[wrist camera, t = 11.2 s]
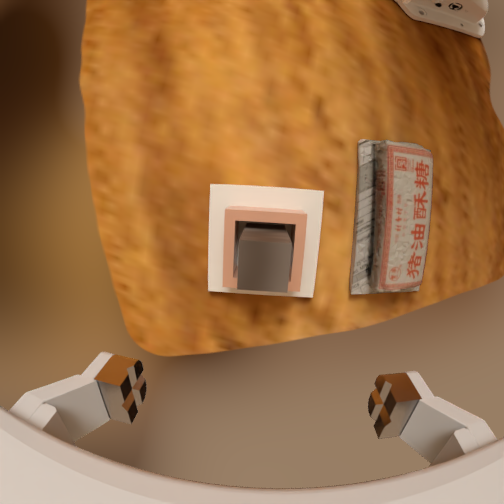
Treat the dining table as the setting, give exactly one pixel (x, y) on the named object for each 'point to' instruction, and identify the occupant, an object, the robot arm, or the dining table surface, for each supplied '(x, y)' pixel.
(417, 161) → the packaged product
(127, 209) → the dining table surface
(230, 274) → the square socket base
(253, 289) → the peg
